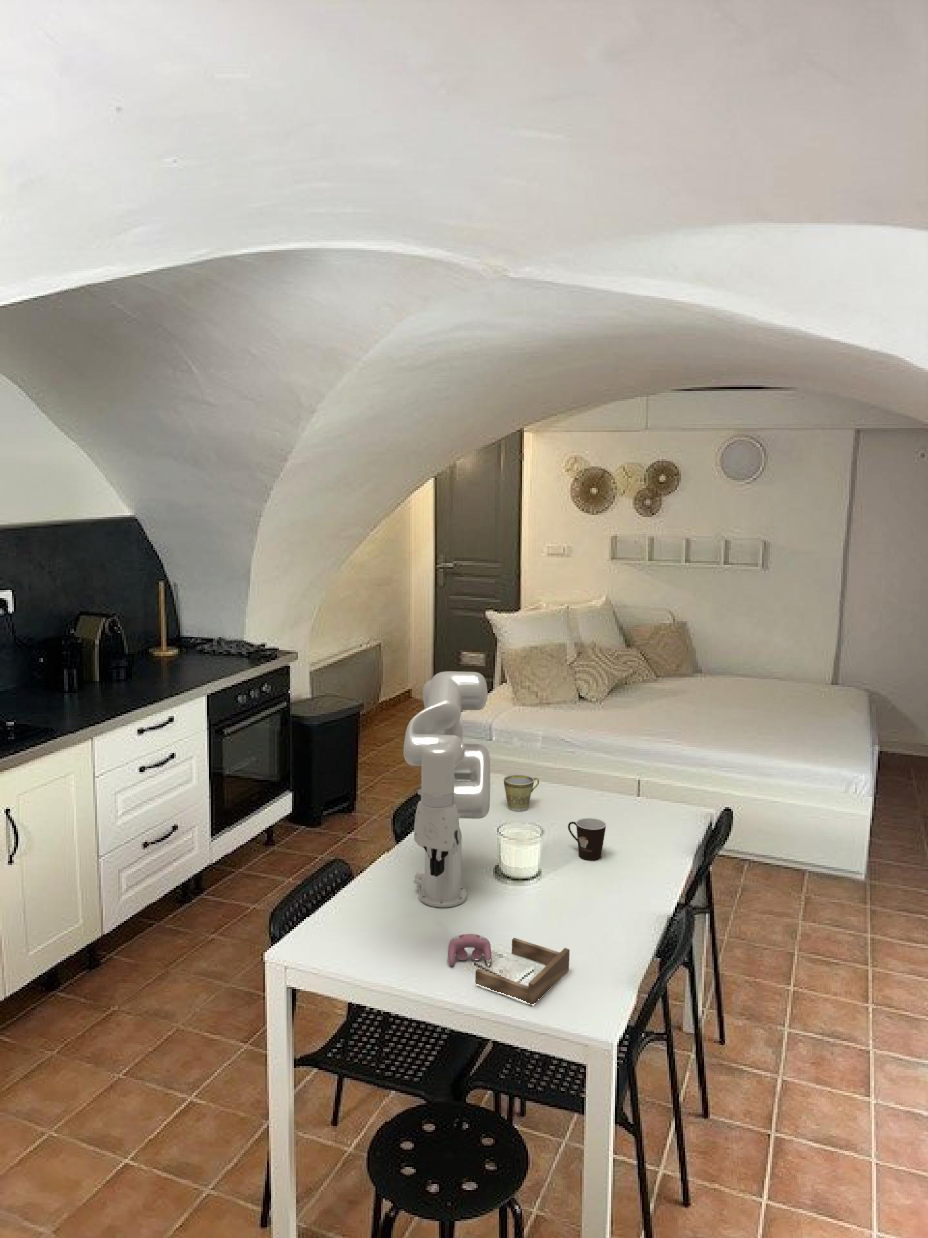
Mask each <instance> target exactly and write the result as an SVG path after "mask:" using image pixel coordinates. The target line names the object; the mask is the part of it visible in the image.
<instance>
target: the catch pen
mask: <svg viewBox="0 0 928 1238" xmlns="http://www.w3.org/2000/svg"><path fill="white" fill-rule="evenodd" d="M511 954H512V955H515V956H518V957H521V958H524V959H526V960H530V961H533V962H536V963H539V964H541V965H545V966H544V968H542V969H541V970H540V971H539V972H538V973H537V974H536V975H535V976H534V977H533V978H532V979H531V980H530V981H528V985H525V984H522V983H520V982H517V981H515V980H511V979H508V978H506V977H502V976H501V975H497V974H494V973H491V972H489V971H487V970H483V969H480V968H477V969H476V970H475V975H474V976H475V983H476V984H479V985H481V986H484V987H487V988H490V989H491V990H494V991H497V992H501V993H504V994H506V995H510V996H512V997H516V998H518V999H521V1000H523V1001H526V1002H527V1003H530V1004H534V1003H536V1002H537V1001H538V999H540V998H541V997H542V996H543V995H544V994H545V993H546V992H547V991H548V990H549V989H550V988H551V987H552V986H553V985H554V984H555V985H556V984H557V983H558V982H559V981H560V980H561V979H562V978H561V977H564V975H566V974H567V973H568V971H569V970H570V949H569V948H567V947H564V948H563V949H562V950H561V951H560V952H559V951H557V950H554V949H550V948H548V947H544V946H541V945H538V944H535V943H533V942H529V941H526V940H523V939H519V938H517V937H513V938H512V939H511ZM555 985H554V986H555ZM554 986H553V987H554ZM553 987H552V988H553ZM552 988H551V989H552ZM551 989H550V990H551ZM550 990H549V991H550ZM549 991H548V992H549ZM548 992H547V993H548ZM547 993H546V994H547ZM546 994H545V995H546ZM545 995H544V996H545ZM544 996H543V997H544ZM543 997H542V998H543ZM542 998H541V999H542ZM541 999H540V1000H541ZM538 1002H539V1001H538ZM538 1002H537V1003H538ZM537 1003H536V1004H537Z"/></svg>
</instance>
